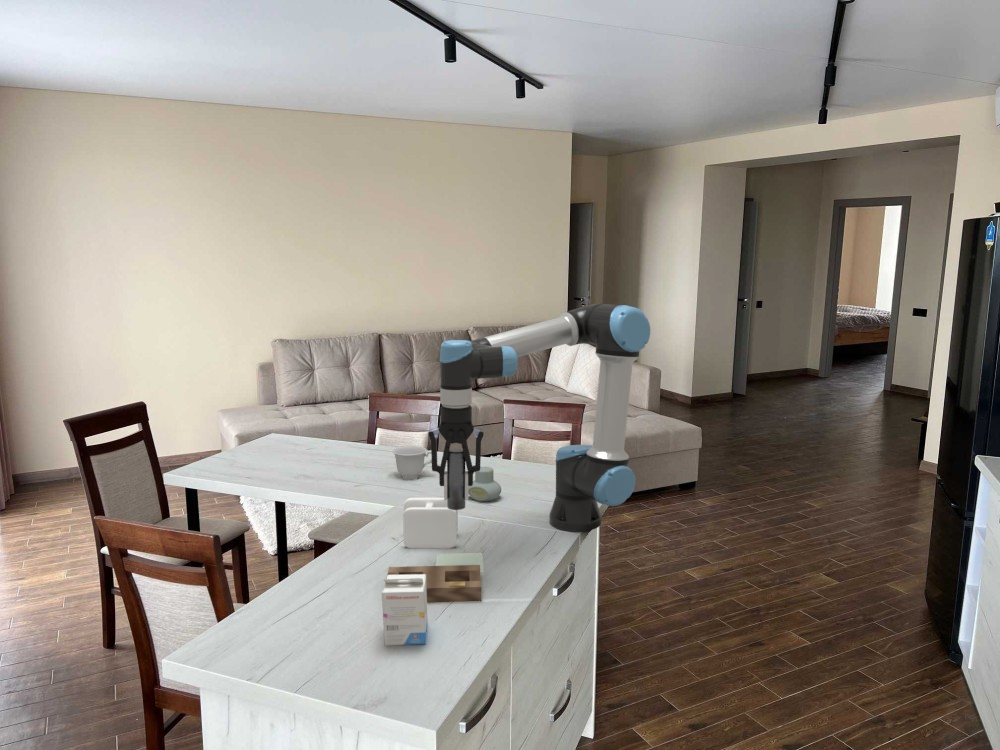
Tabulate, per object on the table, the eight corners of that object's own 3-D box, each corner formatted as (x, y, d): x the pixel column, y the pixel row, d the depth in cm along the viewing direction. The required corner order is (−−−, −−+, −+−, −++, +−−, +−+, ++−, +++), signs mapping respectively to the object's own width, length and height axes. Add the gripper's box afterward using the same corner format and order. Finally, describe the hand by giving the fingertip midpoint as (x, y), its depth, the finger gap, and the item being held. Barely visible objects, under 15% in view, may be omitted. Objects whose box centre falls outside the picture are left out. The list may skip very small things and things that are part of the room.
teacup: (433, 482, 254) (433, 454, 252) (390, 482, 254) (389, 454, 253) (437, 472, 266) (436, 445, 264) (396, 472, 266) (395, 445, 265)
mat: (482, 555, 193) (482, 552, 193) (483, 574, 182) (483, 572, 181) (436, 556, 193) (436, 553, 193) (435, 575, 181) (435, 573, 181)
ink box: (428, 624, 157) (427, 565, 155) (425, 645, 149) (424, 583, 147) (388, 625, 157) (386, 566, 155) (383, 646, 149) (381, 584, 147)
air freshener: (463, 499, 237) (463, 469, 235) (476, 492, 244) (475, 463, 242) (493, 505, 232) (493, 474, 230) (505, 497, 239) (505, 467, 237)
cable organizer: (400, 551, 196) (399, 509, 194) (405, 535, 207) (404, 496, 205) (456, 550, 196) (456, 509, 194) (458, 535, 207) (458, 496, 205)
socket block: (480, 578, 180) (479, 564, 179) (481, 601, 168) (481, 586, 167) (389, 580, 178) (389, 566, 178) (384, 603, 167) (383, 588, 166)
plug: (465, 503, 183) (465, 449, 180) (465, 509, 178) (465, 453, 176) (447, 503, 182) (447, 449, 180) (446, 509, 178) (446, 453, 176)
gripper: (492, 402, 180) (491, 493, 184) (420, 401, 180) (421, 493, 183) (492, 408, 173) (492, 503, 177) (418, 408, 172) (419, 503, 176)
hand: (456, 498), depth 180 cm, fingers closed on plug, 4 cm apart
